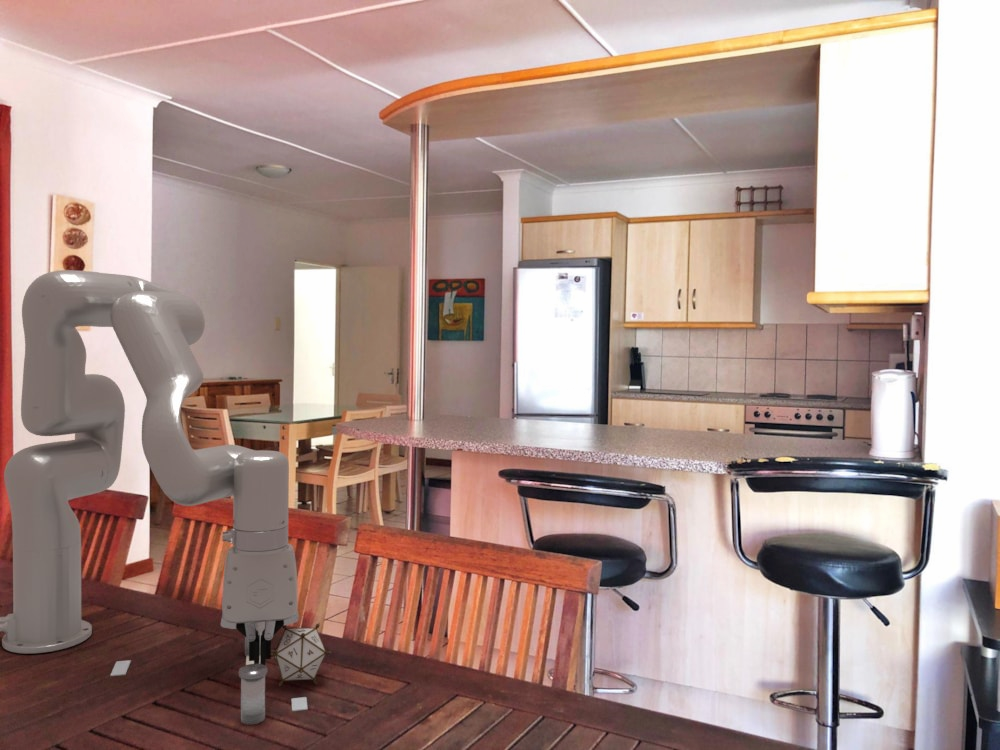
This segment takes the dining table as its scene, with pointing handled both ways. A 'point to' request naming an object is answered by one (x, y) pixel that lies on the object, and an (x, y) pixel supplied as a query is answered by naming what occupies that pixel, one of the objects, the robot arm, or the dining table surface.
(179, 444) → the robot arm
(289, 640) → the game die
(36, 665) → the dining table surface
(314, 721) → the dining table surface
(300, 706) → the distance lines
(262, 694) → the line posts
